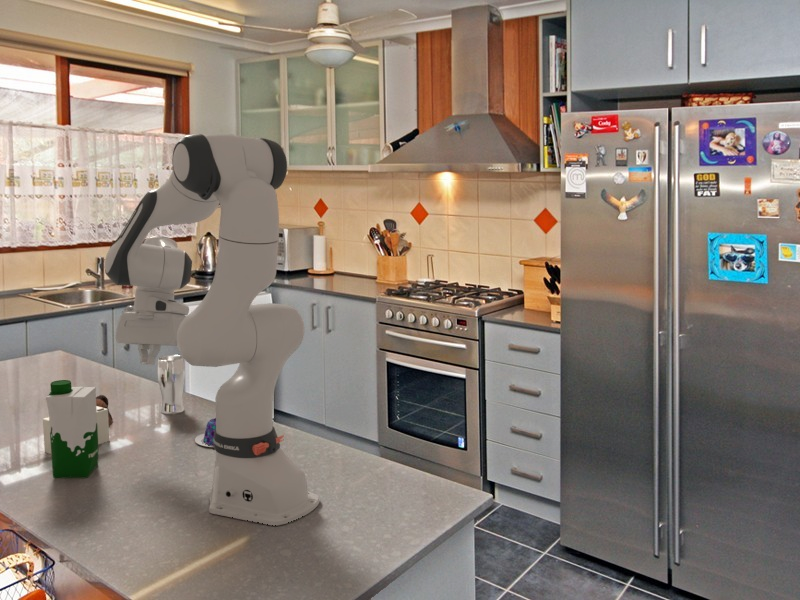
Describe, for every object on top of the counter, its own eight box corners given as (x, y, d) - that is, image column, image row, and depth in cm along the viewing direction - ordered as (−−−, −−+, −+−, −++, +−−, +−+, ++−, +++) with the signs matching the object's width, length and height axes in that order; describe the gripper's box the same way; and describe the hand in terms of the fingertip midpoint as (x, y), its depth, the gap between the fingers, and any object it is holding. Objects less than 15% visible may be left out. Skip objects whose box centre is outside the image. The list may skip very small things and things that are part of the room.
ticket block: (110, 441, 180) (108, 408, 178) (61, 457, 169) (59, 422, 167) (93, 436, 183) (91, 403, 182) (44, 451, 172) (42, 417, 171)
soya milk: (62, 464, 165) (56, 377, 162) (104, 463, 166) (99, 376, 163) (46, 480, 156) (41, 388, 153) (91, 479, 157) (86, 388, 154)
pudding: (212, 453, 174) (212, 432, 173) (185, 440, 182) (184, 420, 181) (255, 441, 182) (254, 420, 181) (227, 429, 190) (227, 409, 190)
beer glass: (154, 414, 201) (152, 360, 198) (166, 406, 207) (164, 354, 205) (178, 415, 199) (176, 361, 197) (190, 408, 206) (188, 355, 204)
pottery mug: (107, 431, 188) (88, 406, 185) (77, 444, 190) (58, 419, 187) (125, 405, 199) (107, 381, 196) (96, 418, 201) (78, 394, 198)
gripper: (112, 304, 178) (106, 361, 176) (174, 304, 168) (168, 365, 166) (133, 307, 183) (127, 363, 182) (194, 307, 173) (188, 367, 172)
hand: (147, 364), depth 174 cm, fingers closed
